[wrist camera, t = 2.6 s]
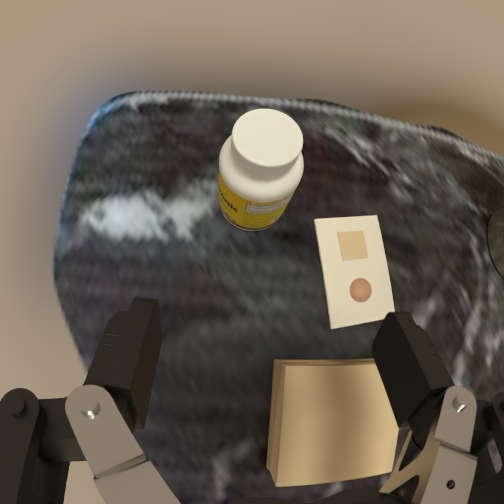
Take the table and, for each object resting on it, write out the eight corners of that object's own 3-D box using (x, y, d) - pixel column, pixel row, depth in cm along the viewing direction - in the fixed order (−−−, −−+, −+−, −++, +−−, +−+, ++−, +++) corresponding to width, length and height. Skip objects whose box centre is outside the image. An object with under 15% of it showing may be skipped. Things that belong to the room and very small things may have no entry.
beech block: (381, 357, 24) (406, 360, 20) (370, 457, 22) (392, 472, 18) (273, 358, 23) (284, 364, 19) (266, 466, 21) (274, 487, 17)
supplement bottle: (214, 176, 26) (215, 101, 17) (277, 170, 27) (304, 97, 18) (222, 237, 25) (225, 182, 16) (289, 229, 26) (327, 174, 16)
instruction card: (375, 216, 27) (377, 215, 27) (393, 316, 25) (395, 316, 25) (313, 220, 26) (314, 218, 26) (330, 329, 24) (331, 329, 24)
